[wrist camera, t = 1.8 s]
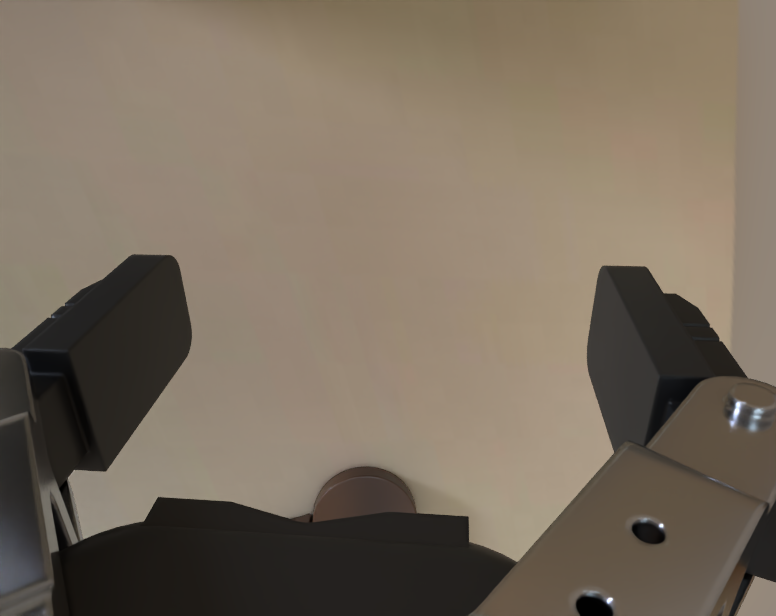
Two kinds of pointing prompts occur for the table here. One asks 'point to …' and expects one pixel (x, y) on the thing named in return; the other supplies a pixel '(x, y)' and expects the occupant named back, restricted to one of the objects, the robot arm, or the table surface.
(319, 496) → the wooden spoon
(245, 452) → the table surface
